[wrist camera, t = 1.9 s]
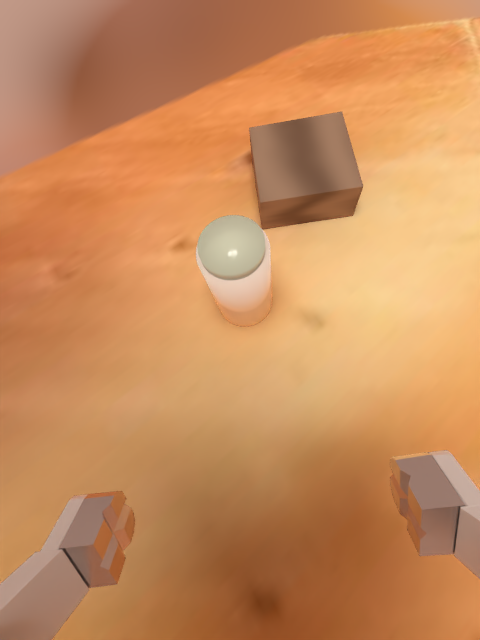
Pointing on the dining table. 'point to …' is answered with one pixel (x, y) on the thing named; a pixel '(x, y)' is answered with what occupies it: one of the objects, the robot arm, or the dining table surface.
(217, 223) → the jar
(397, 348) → the dining table surface
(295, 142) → the plinth
